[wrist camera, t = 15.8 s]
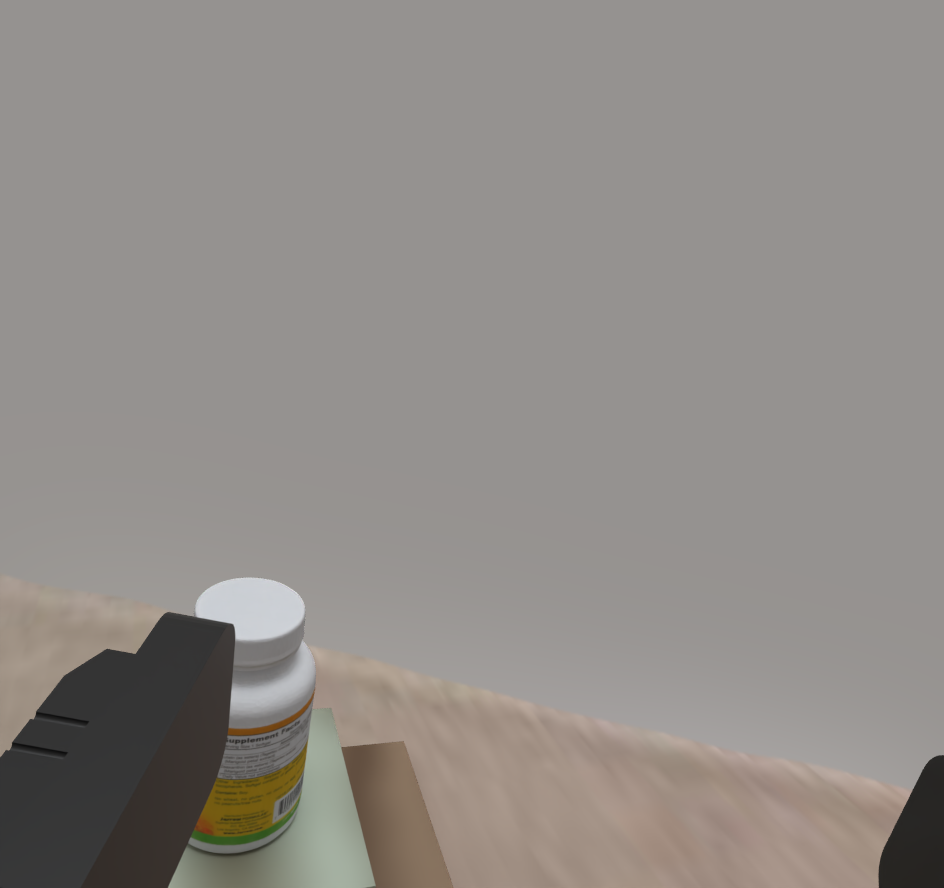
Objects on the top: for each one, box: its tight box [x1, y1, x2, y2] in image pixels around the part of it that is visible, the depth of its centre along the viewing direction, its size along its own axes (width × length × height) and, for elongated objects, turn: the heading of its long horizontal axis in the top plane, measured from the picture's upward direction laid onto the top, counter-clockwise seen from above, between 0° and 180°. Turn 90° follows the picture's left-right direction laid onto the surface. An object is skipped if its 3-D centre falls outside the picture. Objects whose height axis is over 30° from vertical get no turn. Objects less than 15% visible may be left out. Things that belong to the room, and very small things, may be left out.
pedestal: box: [168, 708, 453, 888], centre depth 37 cm, size 20×15×6 cm
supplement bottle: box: [188, 578, 316, 854], centre depth 34 cm, size 5×5×10 cm
